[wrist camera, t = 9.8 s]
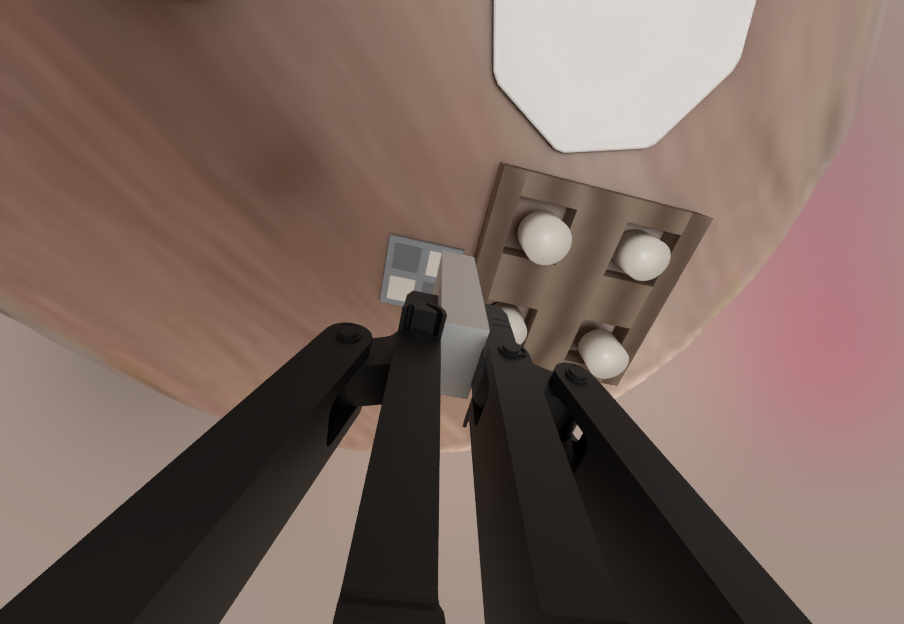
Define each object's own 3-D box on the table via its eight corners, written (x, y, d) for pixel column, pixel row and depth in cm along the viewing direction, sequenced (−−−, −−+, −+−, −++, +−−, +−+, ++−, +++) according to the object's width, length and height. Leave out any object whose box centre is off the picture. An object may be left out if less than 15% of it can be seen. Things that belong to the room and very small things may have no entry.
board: (450, 342, 50) (451, 355, 47) (500, 162, 39) (504, 165, 36) (608, 372, 53) (617, 385, 50) (696, 212, 42) (713, 218, 39)
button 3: (572, 356, 48) (582, 375, 44) (586, 325, 45) (598, 343, 42) (605, 362, 48) (618, 381, 45) (621, 332, 46) (635, 350, 42)
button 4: (605, 263, 44) (618, 276, 40) (622, 226, 42) (638, 235, 38) (640, 271, 44) (657, 284, 41) (659, 235, 42) (678, 245, 39)
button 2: (511, 247, 40) (518, 259, 37) (525, 205, 38) (533, 214, 35) (551, 256, 41) (561, 269, 37) (567, 215, 39) (579, 225, 35)
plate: (708, 143, 39) (717, 144, 37) (491, 155, 39) (493, 156, 38) (796, -193, 28) (814, -208, 26) (492, -174, 28) (494, -189, 26)
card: (380, 299, 46) (379, 302, 46) (390, 233, 42) (389, 235, 42) (447, 313, 48) (447, 315, 47) (463, 249, 43) (464, 251, 43)
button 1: (480, 329, 48) (483, 346, 45) (490, 298, 46) (494, 313, 42) (514, 336, 49) (519, 352, 45) (525, 305, 46) (532, 320, 43)
